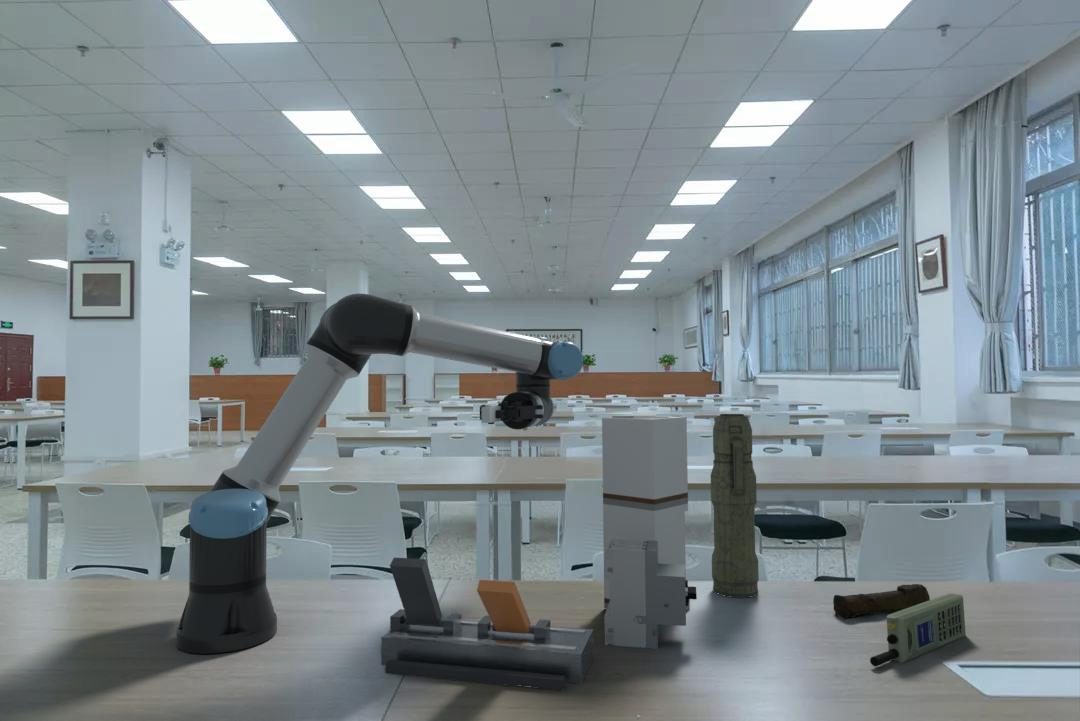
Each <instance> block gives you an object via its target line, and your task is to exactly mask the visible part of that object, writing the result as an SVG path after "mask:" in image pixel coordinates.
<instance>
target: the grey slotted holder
mask: <svg viewBox="0 0 1080 721" xmlns="http://www.w3.org/2000/svg"><path fill="white" fill-rule="evenodd" d="M462 614H463V613H458V612H457V613H456V612H455V613H454V612H451V613H450V614H449V615H447V617H445V618H444V617H442V619H444V620H443V627H432V626H420V625H407V624H405V619H406V614H405V611H404V608H403V609H402V608H400V609H399V610H397V611H396V612H395V613H393V614H392V615H391V616H390V617H389V623H390V624H389V625H390V626H389V631H387V632H386V633H385V634H384V635H382V636H381V637H380V642H381V643H380V658H381V659H380V662H381V663H380V665H382V666H385V663H386V662H388V661H389V660H398V661H409V662H420V663H431V664H442V665H453V666H463V667H474V668H485V669H496V670H507V671H518V672H529V673H539V674H550V675H561V676H565V683H569V682H572V683H571V684H579V683H582V684H583V682H582V681H584V679H585V677H586V675H587V672H588V670H589V668H590V665H591V662H592V661H593V658H594V629H593V628H592V629H590V628H580V627H579V628H578V627H577V628H576V627H566V626H564V627H563V626H553V625H551V619H539V620H538V622H537V623H536V624H531V626H535V627H534V634H522V633H509V632H496V631H493V630H492V626H493V623H492V621H491V619H490V617H489V615H484V616H483V617H482V618H481V619H480V620H475V619H474V620H473V619H462V617H463V616H462ZM588 667H589V668H588ZM585 674H586V675H585ZM584 676H585V677H584Z"/></svg>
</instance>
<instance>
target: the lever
mask: <svg viewBox="0 0 1080 721" xmlns="http://www.w3.org/2000/svg"><path fill="white" fill-rule="evenodd" d="M476 592H477V594H478V595H479V599H480V600H481V602H482V604H483V607H484V609H485V611H486V612H487V613H486V614H487V616H489V617H490V619H491V621H492V623H493V626H492V630H493V631H496V632H509V633H522V634H534V627H535V626H531V625H532V623H531V621H530V618H529V615H528V613H527V610H526V608H525V605H524V602H523V600H522V597H521V595H520V593H519V590H518V588H517V585H516V583H515V581H508V580H507V581H505V580H504V581H503V580H490V579H488V580H486V579H485V580H484V579H479V581H478V584H477V588H476Z"/></svg>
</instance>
